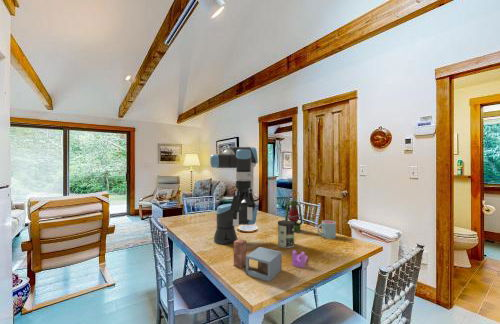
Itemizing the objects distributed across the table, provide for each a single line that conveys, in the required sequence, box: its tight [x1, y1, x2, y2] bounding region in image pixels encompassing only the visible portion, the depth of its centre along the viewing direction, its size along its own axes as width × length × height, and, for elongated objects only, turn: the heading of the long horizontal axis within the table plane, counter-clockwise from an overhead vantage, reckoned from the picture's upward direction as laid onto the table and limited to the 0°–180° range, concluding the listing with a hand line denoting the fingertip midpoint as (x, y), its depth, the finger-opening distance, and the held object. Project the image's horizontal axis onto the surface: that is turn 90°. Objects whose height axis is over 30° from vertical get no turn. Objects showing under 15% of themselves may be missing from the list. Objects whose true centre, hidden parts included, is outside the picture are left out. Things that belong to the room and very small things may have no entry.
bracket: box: [291, 249, 308, 269], centre depth 117 cm, size 13×6×7 cm, turn 155°
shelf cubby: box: [245, 246, 283, 282], centre depth 106 cm, size 12×13×8 cm
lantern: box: [284, 190, 304, 234], centre depth 170 cm, size 14×11×30 cm
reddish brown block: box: [233, 238, 268, 275], centre depth 109 cm, size 19×5×12 cm, turn 60°
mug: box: [317, 219, 337, 240], centre depth 156 cm, size 14×9×10 cm
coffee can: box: [277, 219, 295, 249], centre depth 140 cm, size 10×10×14 cm
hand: (243, 222), depth 113 cm, fingers open, 13 cm apart
